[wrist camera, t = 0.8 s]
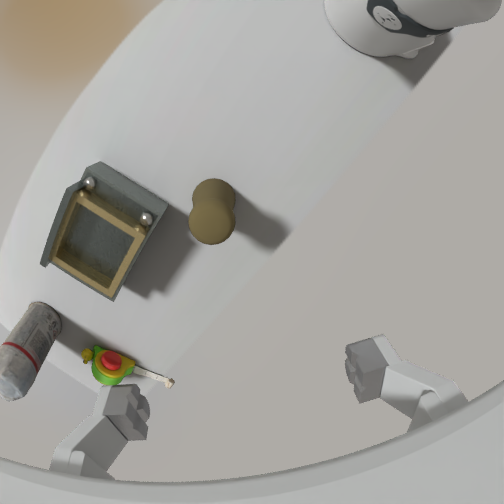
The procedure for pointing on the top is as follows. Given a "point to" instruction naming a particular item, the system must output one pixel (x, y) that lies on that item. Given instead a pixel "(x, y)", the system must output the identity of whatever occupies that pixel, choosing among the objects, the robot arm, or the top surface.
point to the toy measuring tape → (116, 367)
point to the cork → (212, 212)
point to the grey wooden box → (102, 229)
